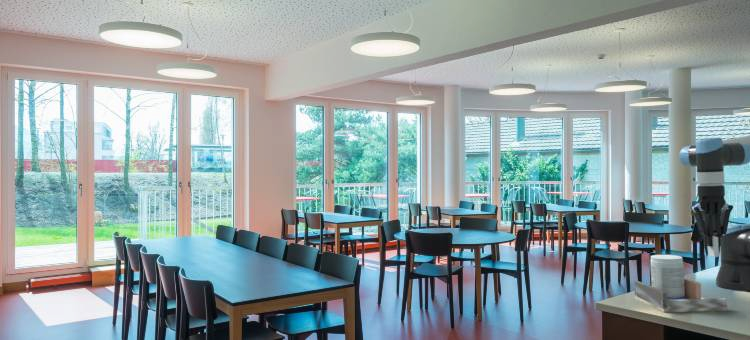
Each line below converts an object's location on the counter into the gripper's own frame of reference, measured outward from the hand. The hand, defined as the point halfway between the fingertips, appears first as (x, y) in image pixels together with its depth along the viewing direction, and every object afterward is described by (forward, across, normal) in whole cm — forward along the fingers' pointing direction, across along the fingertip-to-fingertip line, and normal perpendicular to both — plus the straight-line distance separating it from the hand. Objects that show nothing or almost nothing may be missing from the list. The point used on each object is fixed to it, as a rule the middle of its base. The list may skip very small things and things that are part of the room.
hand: (713, 256), depth 170 cm
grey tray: (+15, +12, 0) cm, 20 cm away
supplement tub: (+14, +16, 0) cm, 21 cm away
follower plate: (+14, +10, 0) cm, 17 cm away
